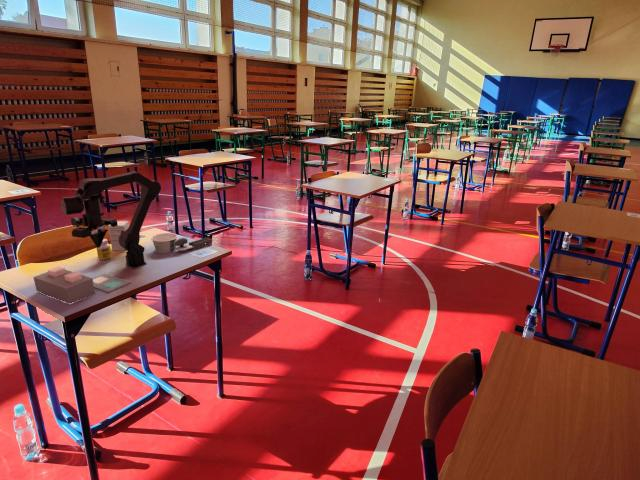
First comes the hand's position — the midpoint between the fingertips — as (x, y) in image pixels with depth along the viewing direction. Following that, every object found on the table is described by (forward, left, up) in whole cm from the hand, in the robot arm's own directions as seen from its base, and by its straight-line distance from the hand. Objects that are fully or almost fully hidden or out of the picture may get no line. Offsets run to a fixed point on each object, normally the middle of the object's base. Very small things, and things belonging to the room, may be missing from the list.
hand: (98, 247), depth 172 cm
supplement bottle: (-6, -14, -12) cm, 20 cm away
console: (+17, +9, -12) cm, 22 cm away
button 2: (+14, +13, -7) cm, 21 cm away
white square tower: (-18, -25, -12) cm, 33 cm away
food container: (-32, -8, -12) cm, 35 cm away
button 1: (+17, +4, -7) cm, 19 cm away
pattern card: (+3, +11, -12) cm, 16 cm away
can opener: (-43, -1, -12) cm, 45 cm away
